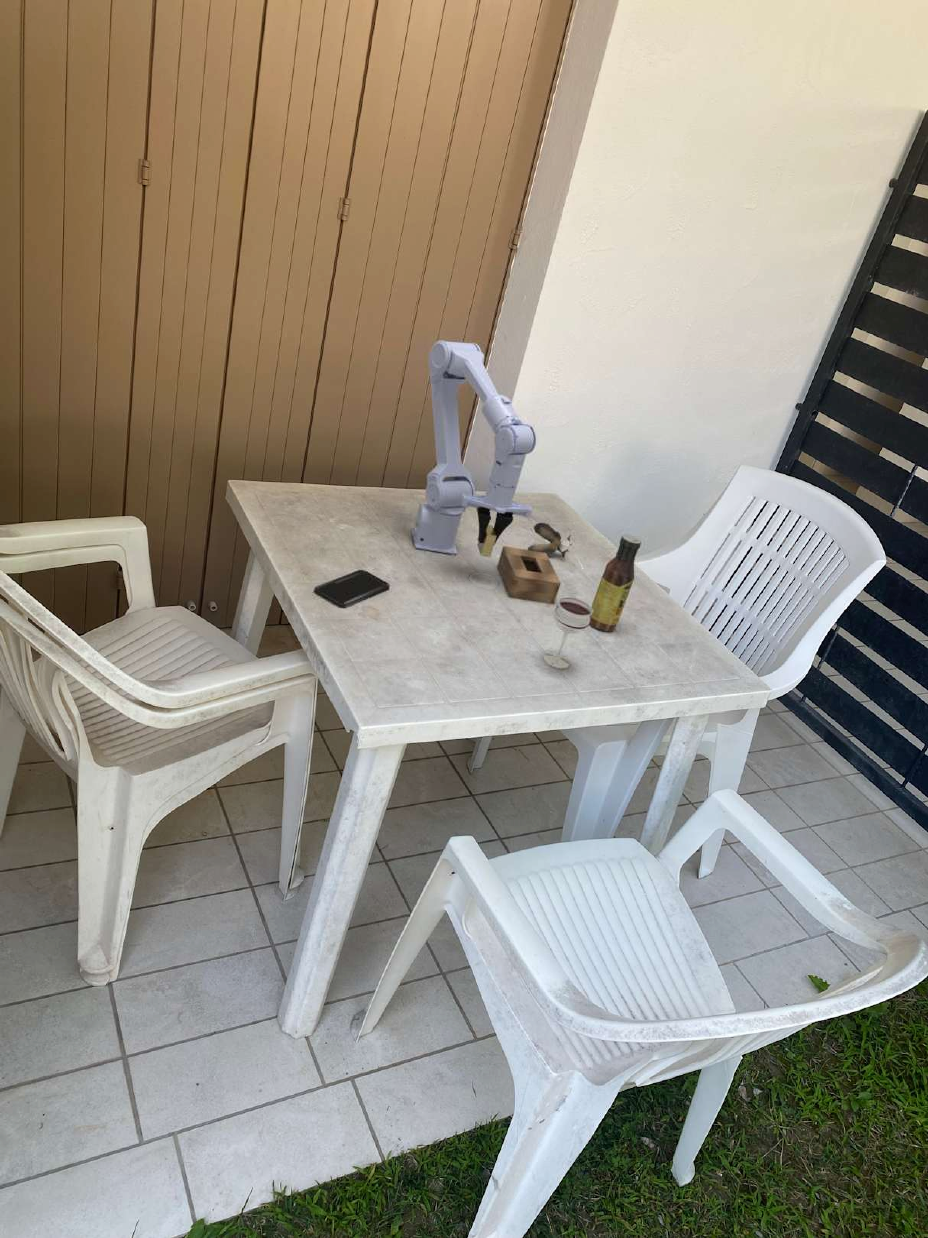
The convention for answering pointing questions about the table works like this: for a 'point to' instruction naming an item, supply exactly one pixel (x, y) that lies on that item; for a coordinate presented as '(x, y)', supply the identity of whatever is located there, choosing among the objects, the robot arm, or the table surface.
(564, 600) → the wineglass
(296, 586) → the table surface
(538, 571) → the box
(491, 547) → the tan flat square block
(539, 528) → the eagle figurine
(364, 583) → the phone
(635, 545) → the sauce bottle
